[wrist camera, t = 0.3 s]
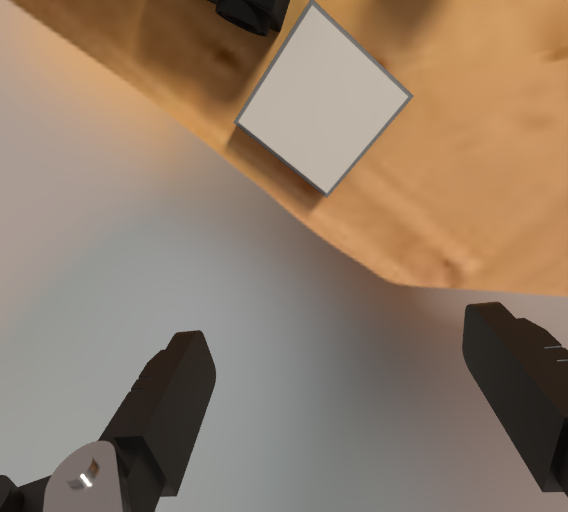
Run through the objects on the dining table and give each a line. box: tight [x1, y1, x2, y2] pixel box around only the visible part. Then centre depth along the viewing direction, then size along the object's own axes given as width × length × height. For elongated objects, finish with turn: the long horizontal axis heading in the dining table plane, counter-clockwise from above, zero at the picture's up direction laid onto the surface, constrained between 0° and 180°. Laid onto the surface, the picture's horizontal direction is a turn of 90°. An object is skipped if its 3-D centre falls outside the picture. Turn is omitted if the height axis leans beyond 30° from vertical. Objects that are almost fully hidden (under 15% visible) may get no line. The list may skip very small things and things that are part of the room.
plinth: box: [233, 0, 413, 197], centre depth 30 cm, size 12×12×3 cm
